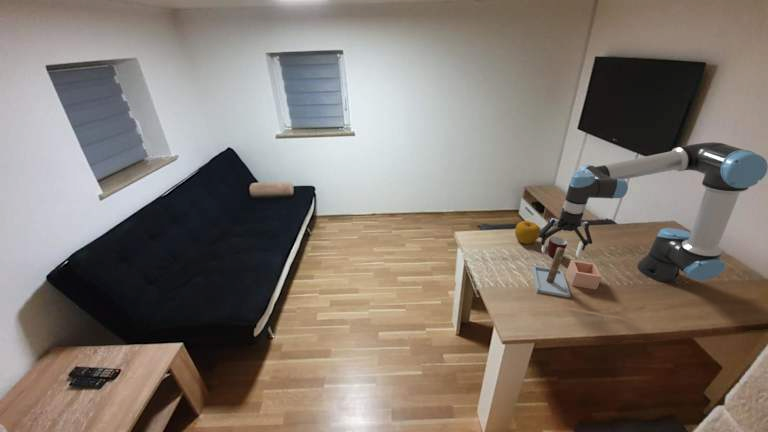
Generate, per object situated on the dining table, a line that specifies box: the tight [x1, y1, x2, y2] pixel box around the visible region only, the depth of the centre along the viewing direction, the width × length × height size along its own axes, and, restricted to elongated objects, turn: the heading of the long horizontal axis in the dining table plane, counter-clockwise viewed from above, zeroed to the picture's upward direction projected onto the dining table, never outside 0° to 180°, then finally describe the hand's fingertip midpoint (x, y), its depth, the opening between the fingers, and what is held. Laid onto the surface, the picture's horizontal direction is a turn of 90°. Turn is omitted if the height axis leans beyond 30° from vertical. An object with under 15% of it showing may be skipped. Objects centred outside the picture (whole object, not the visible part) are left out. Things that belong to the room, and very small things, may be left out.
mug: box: [547, 236, 568, 259], centre depth 154 cm, size 10×8×10 cm
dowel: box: [546, 247, 566, 284], centre depth 135 cm, size 3×3×18 cm
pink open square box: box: [566, 259, 602, 290], centre depth 138 cm, size 10×10×8 cm
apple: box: [514, 220, 542, 245], centre depth 168 cm, size 13×13×11 cm
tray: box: [531, 265, 572, 298], centre depth 139 cm, size 18×13×2 cm
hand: (559, 253), depth 131 cm, fingers open, 13 cm apart
